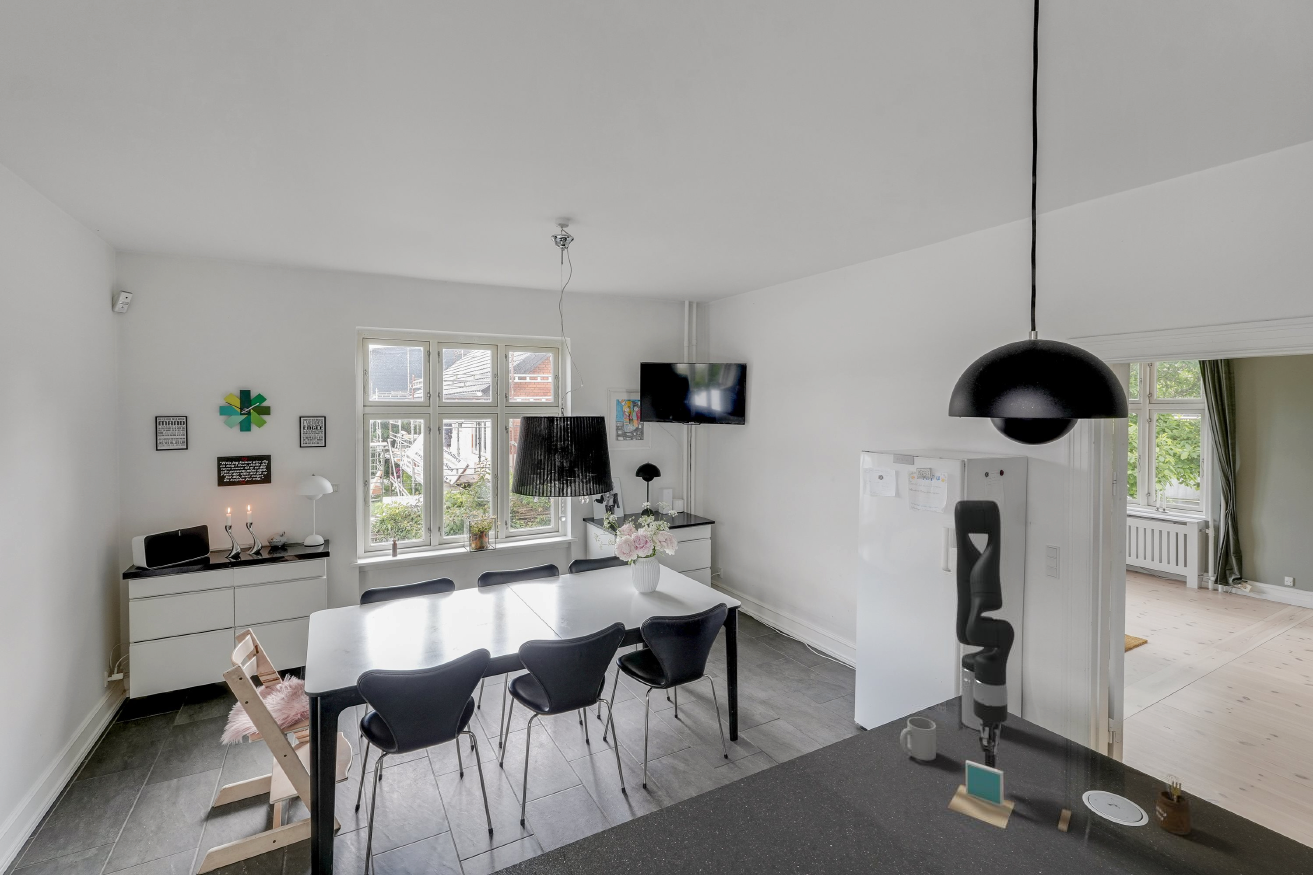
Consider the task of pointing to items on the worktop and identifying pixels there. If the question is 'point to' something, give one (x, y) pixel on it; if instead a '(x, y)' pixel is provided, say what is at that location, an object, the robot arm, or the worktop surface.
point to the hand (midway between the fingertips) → (990, 766)
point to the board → (981, 808)
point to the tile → (984, 783)
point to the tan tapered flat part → (1064, 820)
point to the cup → (919, 738)
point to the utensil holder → (1173, 811)
